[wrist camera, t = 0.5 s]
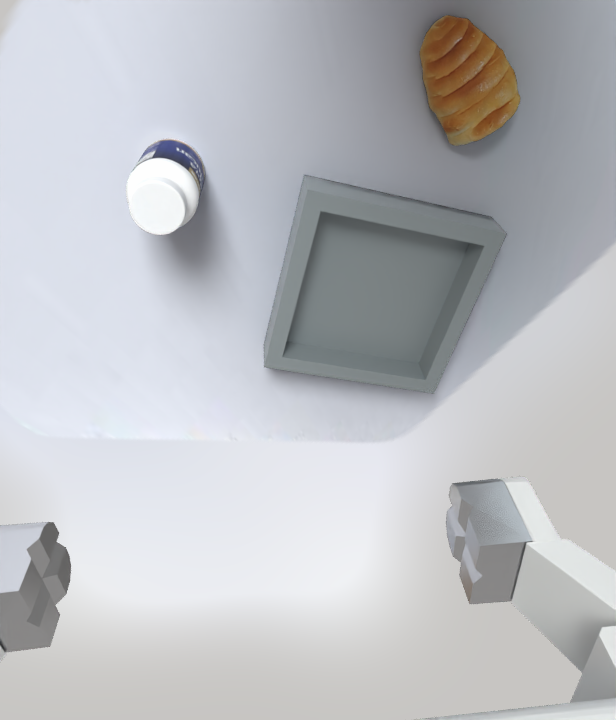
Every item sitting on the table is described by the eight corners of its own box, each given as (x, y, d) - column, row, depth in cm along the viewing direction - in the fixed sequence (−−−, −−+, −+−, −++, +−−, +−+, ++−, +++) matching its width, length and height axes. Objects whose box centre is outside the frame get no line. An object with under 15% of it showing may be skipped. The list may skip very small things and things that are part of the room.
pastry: (394, 52, 45) (405, 58, 42) (469, -10, 43) (486, -8, 40) (451, 148, 50) (464, 160, 47) (521, 97, 48) (540, 106, 45)
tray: (304, 174, 50) (307, 189, 47) (491, 216, 53) (507, 233, 50) (263, 345, 60) (264, 367, 56) (424, 371, 63) (433, 393, 60)
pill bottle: (218, 171, 49) (211, 212, 41) (176, 212, 51) (161, 259, 43) (170, 122, 47) (152, 154, 39) (127, 167, 48) (102, 207, 40)
